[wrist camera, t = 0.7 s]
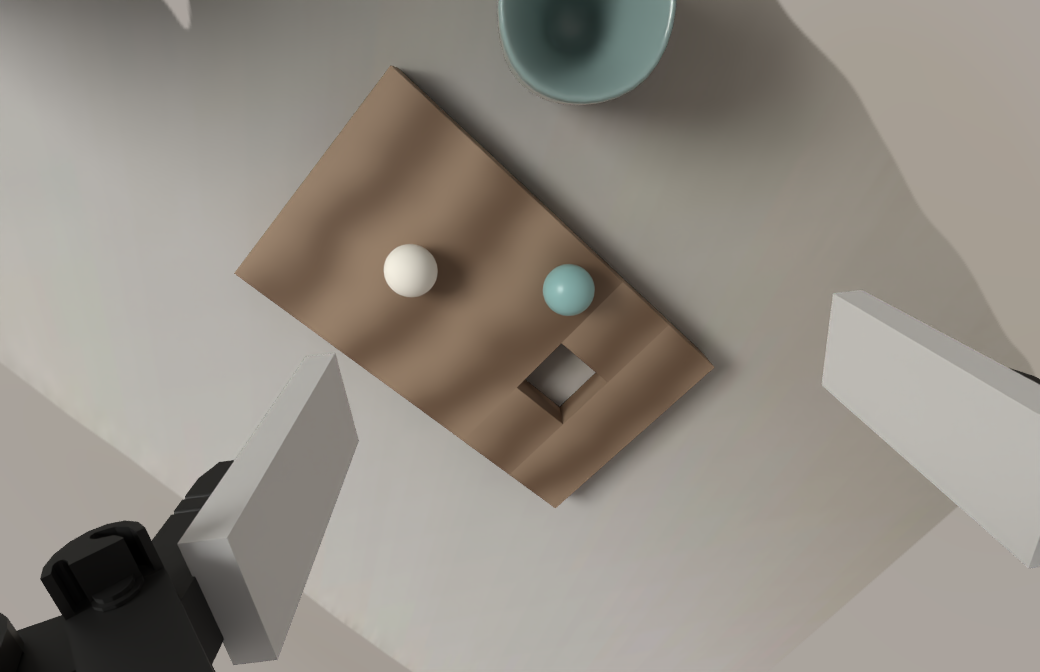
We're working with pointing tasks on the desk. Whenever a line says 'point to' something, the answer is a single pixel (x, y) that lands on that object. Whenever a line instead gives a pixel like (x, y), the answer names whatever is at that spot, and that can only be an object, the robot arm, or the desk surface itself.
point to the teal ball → (568, 289)
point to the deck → (467, 294)
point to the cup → (583, 45)
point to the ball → (410, 270)
